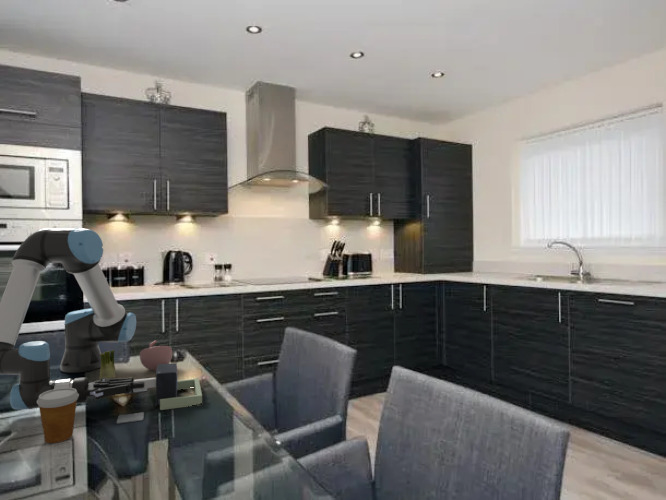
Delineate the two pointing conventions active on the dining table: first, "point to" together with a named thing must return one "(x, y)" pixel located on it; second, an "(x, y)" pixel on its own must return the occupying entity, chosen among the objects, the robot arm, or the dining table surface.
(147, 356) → the mortar and pestle
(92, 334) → the robot arm
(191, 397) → the track
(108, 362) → the fennel bulb
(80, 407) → the dining table surface
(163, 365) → the small box
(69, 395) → the disposable coffee cup
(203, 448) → the dining table surface
